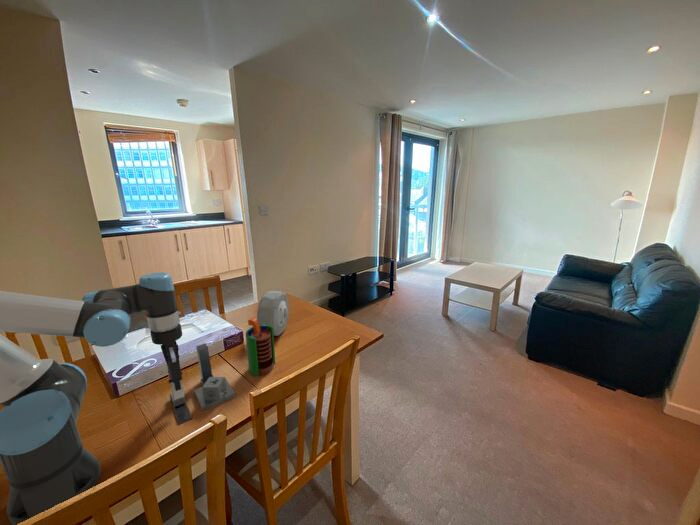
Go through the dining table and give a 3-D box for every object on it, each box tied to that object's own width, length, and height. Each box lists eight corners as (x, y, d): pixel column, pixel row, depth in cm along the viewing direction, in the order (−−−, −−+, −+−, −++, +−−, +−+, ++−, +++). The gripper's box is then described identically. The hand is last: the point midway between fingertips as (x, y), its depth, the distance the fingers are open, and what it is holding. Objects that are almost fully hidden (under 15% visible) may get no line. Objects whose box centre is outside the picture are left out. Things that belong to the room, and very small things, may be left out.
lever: (174, 407, 92) (168, 377, 89) (172, 400, 95) (166, 370, 92) (185, 402, 93) (179, 373, 90) (182, 395, 96) (177, 367, 93)
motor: (266, 378, 106) (261, 328, 101) (243, 375, 108) (238, 325, 102) (278, 361, 116) (274, 315, 110) (257, 358, 117) (252, 313, 112)
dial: (280, 345, 127) (276, 302, 121) (254, 343, 129) (250, 300, 123) (295, 323, 146) (293, 285, 141) (273, 321, 148) (270, 284, 143)
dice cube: (220, 400, 93) (218, 387, 92) (204, 400, 93) (202, 387, 92) (226, 389, 98) (224, 376, 97) (211, 389, 98) (209, 376, 97)
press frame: (178, 424, 86) (170, 384, 82) (168, 394, 98) (161, 357, 95) (236, 398, 96) (231, 361, 93) (220, 373, 109) (215, 339, 105)
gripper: (184, 329, 82) (197, 402, 87) (176, 315, 91) (188, 382, 97) (152, 338, 77) (168, 414, 83) (147, 323, 87) (162, 392, 92)
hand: (179, 397), depth 90 cm, fingers closed
